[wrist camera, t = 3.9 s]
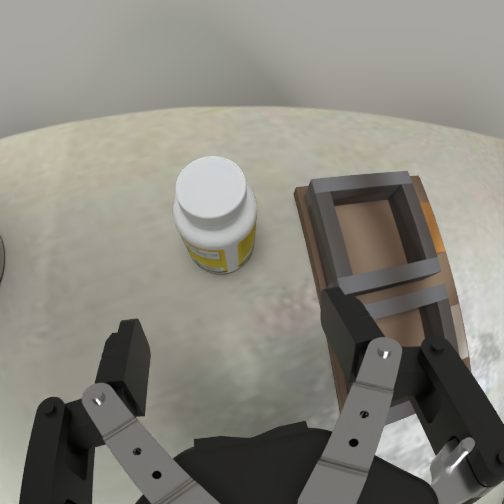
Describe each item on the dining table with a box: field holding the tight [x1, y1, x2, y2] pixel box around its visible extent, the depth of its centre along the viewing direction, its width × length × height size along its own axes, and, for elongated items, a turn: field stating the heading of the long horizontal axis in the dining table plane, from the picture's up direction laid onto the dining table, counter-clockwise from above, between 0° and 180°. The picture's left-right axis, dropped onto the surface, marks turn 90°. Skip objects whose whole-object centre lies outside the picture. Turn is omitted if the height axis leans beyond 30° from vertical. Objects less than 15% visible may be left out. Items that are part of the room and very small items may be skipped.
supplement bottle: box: [173, 156, 257, 274], centre depth 22 cm, size 5×5×10 cm
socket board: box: [294, 171, 471, 426], centre depth 24 cm, size 13×21×4 cm, turn 10°
